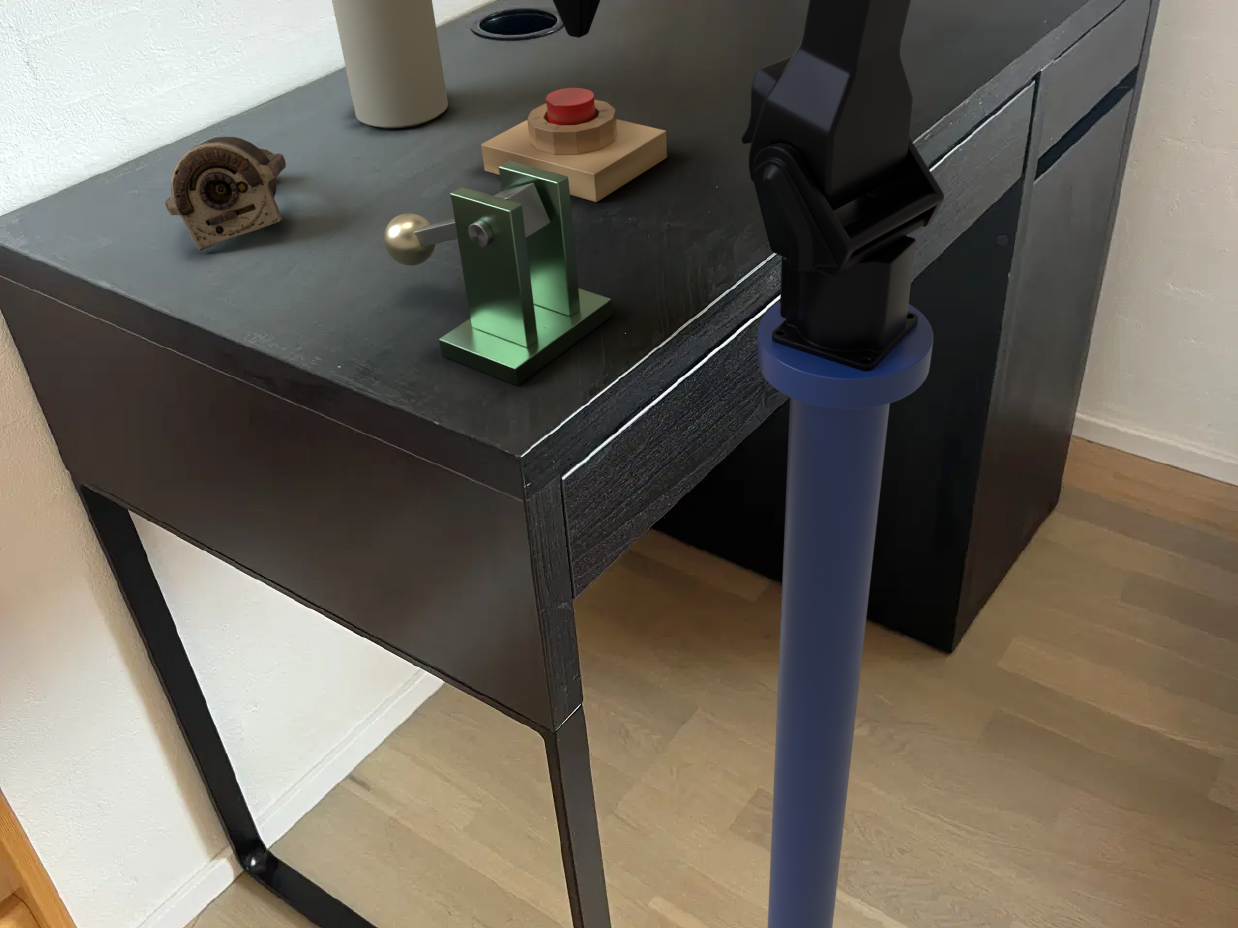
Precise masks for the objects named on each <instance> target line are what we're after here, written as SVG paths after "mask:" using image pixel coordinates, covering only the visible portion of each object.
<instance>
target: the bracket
mask: <svg viewBox="0 0 1238 928" xmlns="http://www.w3.org/2000/svg"><path fill="white" fill-rule="evenodd" d="M499 174H500V175H499V181H500V188H501V191H505V190H508V189H512V188H516V187H519V186H523V185H527V184H531V183H534V185H535V187H536V190H537V192H538V194H539V197H540V199H541V201H542V204H543V206H544V208H545V211H546V213H547V216H548V218H549V220H550V223H549V224H547V225H546V226H544V227H543V228H541V229H539V230H538V231H536V232H535V233H533V234H532V235H530V236H528V237H527V238H526V235H525V227H524V219H523V210H522V204H519V203H516V202H513V201H509V200H506V199H502V198H499V197H495V196H494V195H492V194H488V193H485V192H481V191H478V190H474V189H472V188H469V187H468V188H467V187H465V186H461V187H459V188H457V189H455V190H454V191H452V192H450V200H451V207H452V213H453V218H454V220H455V226H456V232H457V238H458V239H457V244H458V248H459V249H458V250H459V256H460V262H461V268H462V275H463V281H464V286H465V288H464V289H465V293H466V299H467V305H468V313H469V318H468V319H467V320H465V321H464V322H462V323H461V324H459V325H458V326H456V327H454V328H453V329H452V330H450V331H449V332H447V333H446V334H444V335H442V336H441V337H440V338H439V339H438V341H439V347H440V352H441V353H440V354H441V357H444V358H447V359H449V360H451V361H454V362H456V363H460V364H462V365H463V366H467V367H469V368H472V369H474V370H477V371H478V372H479V371H480V372H482V373H485V374H486V375H490V376H492V377H494V378H497V379H499V380H502V381H505V382H507V383H509V384H512V385H515V386H516V387H518V386H520V385H521V384H523V383H524V382H525V381H527V380H528V379H529V378H530V377H532V376H533V375H535V374H536V373H537V372H538V371H540V370H541V369H542V368H544V367H545V366H546V365H548V364H550V363H551V362H552V361H553V360H555V359H556V358H558V357H559V356H560V355H561V354H563V353H564V352H565V351H567V350H569V348H571V347H572V346H574V345H575V344H576V343H577V342H579V341H581V340H582V339H583V338H585V337H586V336H588V334H590V333H591V332H592V331H594V330H595V329H596V328H597V327H600V326H601V325H602V324H603V323H605V322H606V321H607V320H609V319H610V318H612V316H613V305H612V304H613V303H612V299H611V298H609V297H606V296H604V295H600V294H597V293H594V292H592V291H589V290H585V289H582V288H579V279H578V268H577V257H576V246H575V236H574V224H573V213H572V204H571V203H572V202H571V195H570V190H569V179H568V176H565V175H561V174H557V173H554V172H550V171H546V170H543V169H539V168H535V167H531V166H528V165H524V164H520V163H517V162H513V161H508V162H506V163H504V164H502V165H501V166H499Z"/></svg>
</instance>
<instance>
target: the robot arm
mask: <svg viewBox="0 0 1238 928" xmlns="http://www.w3.org/2000/svg"><path fill="white" fill-rule="evenodd" d="M911 1H912V0H808V3H807V8H806V15H805V21H804V26H803V32H802V36H801V39H800V42H799V43H800V44H799V45H798V47H797V49H796V50H795V52H794V53H793V54H792V55H791V56H788V57H785V58H783V59H781V60H779V61H776V62H774V63H771V64H769V65H766V66H764V67H762V68H759V69H758V70H756V72H755V75H754V77H753V81H752V84H751V89H750V117H749V120H748V124H747V128H746V130H745V131H744V133H743V135H742V136H741V142H742V144H744V145H746V144H750V147H749V151H748V170H749V175H750V180H751V181H752V182H753V185H754V188H755V189H754V190H755V192H756V196H757V201H758V204H759V209H760V212H761V216H762V221H763V224H764V225H763V226H764V229H765V233H766V236H767V239H768V240H767V241H768V244H769V249H770V251H771V252H772V253H773V254H775V255H778V256H780V257H781V260H780V261H781V264H780V290H779V291H780V293H779V294H780V295H779V296H780V297H779V302H780V315H781V317H782V318H785V319H786V320H785V321H784V322H782V323H781V324H780V325H779V326H778V327H777V328H776V329H775V330H773V332H772V341H773V342H775V343H778V344H781V345H784V346H787V347H790V348H793V349H796V350H799V351H802V352H805V353H808V354H811V355H815V356H818V357H821V358H824V359H827V360H830V361H833V362H836V363H839V364H842V365H845V366H848V367H851V368H855V369H858V370H861V371H872V370H873V369H874V368H875V367H876V366H877V365H878V364H879V363H880V362H881V361H882V360H883V359H884V358H885V357H886V356H887V355H888V354H889V353H890V352H891V351H892V350H893V349H894V348H895V347H896V346H897V345H898V344H899V342H900V341H901V340H902V339H903V338H904V337H905V336H906V335H907V334H908V333H909V332H910V331H911V330H912V329H913V328H914V327H915V326H916V325H917V323H918V315H917V314H915V313H912V312H909V311H908V304H910V303H909V302H910V292H911V286H912V278H913V277H912V276H913V266H914V260H915V259H914V258H915V250H916V241H917V239H916V238H914V237H912V236H909V235H910V234H912V233H913V232H915V231H917V230H919V229H920V228H922V227H923V228H925V227H927V226H929V225H930V224H932V223H933V221H934V220H935V218H936V216H937V214H938V212H939V210H940V208H941V206H942V204H943V202H944V200H945V194H944V191H943V189H942V188H941V187H940V185H939V183H938V181H937V179H936V178H935V176H934V175H933V173H932V171H931V170H930V168H929V167H928V165H927V163H926V161H925V160H924V158H923V157H922V155H921V153H920V152H919V150H918V149H917V147H916V146H915V143H914V142H913V141H912V139H911V136H910V132H911V122H912V112H913V101H914V100H913V98H914V97H913V92H912V88H911V86H910V85H911V84H910V82H909V79H908V76H907V73H906V69H905V65H904V63H903V60H902V56H901V45H902V39H903V35H904V30H905V27H906V22H907V19H908V18H907V17H908V13H909V11H910V10H909V9H910V5H911ZM552 2H553V4H554V7H555V9H556V11H557V14H558V15H559V19H560V21H561V22H562V25H563V27H564V29H565V31H566V33H567V35H568V36H569V37H572V38H577V39H580V38H583V37H584V36H586V35H588V34H589V32H590V30H591V28H592V24H593V21H594V20H595V19H594V18H595V16H596V14H597V11H598V8H599V6H600V3H601V0H552Z"/></svg>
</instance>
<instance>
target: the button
mask: <svg viewBox="0 0 1238 928" xmlns="http://www.w3.org/2000/svg"><path fill="white" fill-rule="evenodd" d="M594 99H595V94H594V92H593V91H592V90H590V89H587V88H583V87H566V88H560V89H557V90H554V91H552V92H550V93H548V94H547V95H546V97H545V103H546V104H547V114H548V122H549V123H552V124H556V125H578V124H583V123H587V122H590V121H592V120H593V119H595V118H596V114H595V100H596V99H595V100H594Z"/></svg>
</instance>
